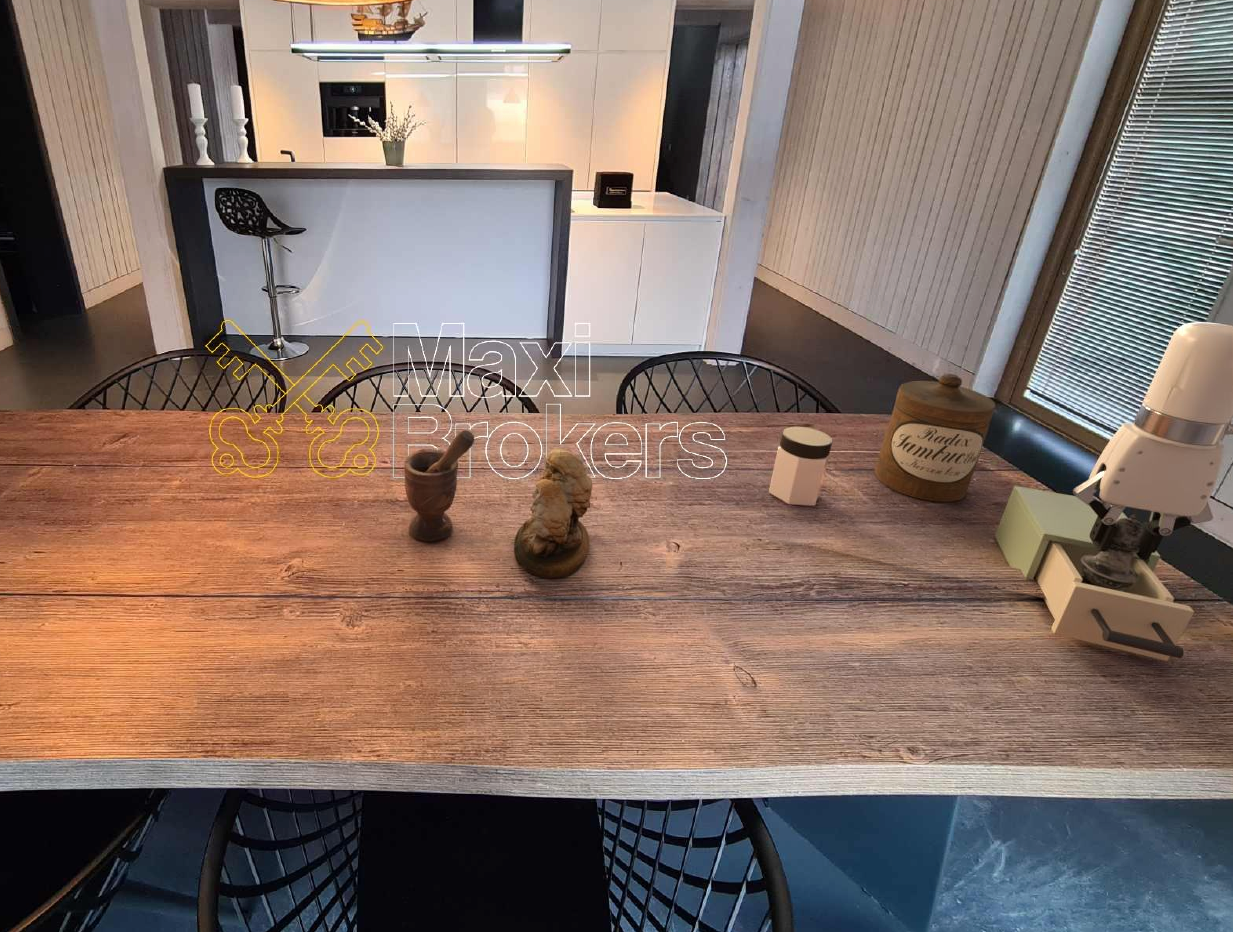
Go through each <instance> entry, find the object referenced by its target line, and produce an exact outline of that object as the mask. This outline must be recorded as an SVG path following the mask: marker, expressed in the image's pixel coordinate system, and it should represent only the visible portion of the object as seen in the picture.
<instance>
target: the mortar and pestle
mask: <svg viewBox="0 0 1233 932" xmlns="http://www.w3.org/2000/svg"><path fill="white" fill-rule="evenodd" d="M474 443H475V436H474V434H473V432H472V431H470V430H468V429H467V430H466V429H465V430H461V431H459V432H458V433H457V434H456V435H455V436H454V438H453V439H452V441H451V443H450V444H449V446H448V448H447V449H446V450H443V449H437V448H436V449H435V448H434V449H431V448H426V449H425V448H423V449H419V450H416V451H414V452H411V453H410V454H408V455H407V456H406V457H405V460H404V463H403V465H404V466H403V469H404V472H403V473H404V489H405V495H406V498H407V500H408V501H407V502H408V504H409V506H410V507H411V509H412V510H413V511H415V512H416V514H414V515H413V517H411V520H410V522H409V525H408V532H409V535H410V536H411V537H412V538H414V539H416V540H419V541H423V542H429V543H430V542H436V541H437V542H438V541H441V540H444V539H446V538H448V537H450V536H451V535H452V533H453V532H454V528H453V521H452V519H451V518H450V516H449V515H448V514H447V513H446V512H447V511H448V510H449V509H451V506H452V505H453V502H454V499H455V495H456V492H457V487H458V486H457V485H458V469H459V461H458V460H459V459H460V458H461V457H463V455H465V453H467V452H468V451H469V450H470V449H471V448H472V446H474Z"/></svg>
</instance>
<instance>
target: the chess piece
mask: <svg viewBox="0 0 1233 932" xmlns="http://www.w3.org/2000/svg"><path fill="white" fill-rule="evenodd" d="M1137 519H1139V518H1138V516H1137V514H1136V513H1135V514H1132V515H1130V517H1127V518H1121V519H1118V520H1117V521H1116V522H1115V525H1116V526H1117V531H1116V534H1115V536H1114V538H1113V540H1112V542H1111V544H1110V546H1109V548H1108V550H1107V551H1105V552H1102V551H1101V552H1100V553H1099V554H1098V555H1085V556H1083V557H1082V558H1081V562H1082V572H1083V574H1084V575H1085V576H1081V577H1082V579H1083V580H1082V582H1081V583H1084V584H1089V585H1093V586H1098V587H1103V588H1107V589H1112V590H1117V591H1121V590H1123V589H1126V588H1128V587H1130V586H1131V585H1132V584H1133V583H1134V582H1137V581H1138V580H1139V575H1138V574H1137V572H1136V571H1135V570H1133V569H1132V568H1131V567H1130V561H1131V559H1132V557H1133V555H1134V553H1137V552H1139V548H1138V547H1137V545H1138V543H1139V541H1140V539H1141V537H1142V535H1143V533H1144V527H1143V525H1142V524H1143V523H1141V522H1140V521H1138V520H1137ZM1121 592H1122V591H1121Z"/></svg>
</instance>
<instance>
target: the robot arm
mask: <svg viewBox="0 0 1233 932" xmlns="http://www.w3.org/2000/svg"><path fill="white" fill-rule="evenodd" d="M1232 418H1233V325H1229V324H1222V323H1215V322H1204V321H1203V322H1201V321H1199V322H1189V323H1185V324H1183V325H1181V326H1180V327H1178V328H1177V329H1176V330H1175V331H1174V332H1173V334H1172V336H1171V338H1170V340H1169V341H1168V344H1167V346H1166V349H1165V351H1164V354H1163V355H1162V358H1161V360H1160V362H1159V365H1158V367H1157V369H1156V371H1155V374H1154V376H1153V378H1152V381H1151V383H1150V384H1149V387H1148V389H1147V392H1146V393H1145V396H1144V398H1143V400H1142V402H1141V404H1140V406H1139V408H1138V411H1137V414H1136V416H1135V418H1134V420H1133V422H1124V423H1123V424H1122V425H1120V426H1119V428H1118V429H1117V431H1115V433H1114V435H1113V436H1112V437H1111V438H1110V440H1109V441H1108V442H1107V444H1106V446H1105V447H1104V449H1103V450H1102V452H1101V453H1100V455H1099V457H1098V459H1097V461H1096V463H1094V466H1093V468H1092V470H1091V472H1090V475H1089V477H1088V479H1087V480H1085V481H1084V482H1082V483H1081V484H1079V485H1077V486H1076V487H1075V488H1073V489H1072V493H1073V495H1074V496H1076V497H1077V498H1078V499H1080V500H1081V501H1082V502H1084V503H1085V504H1087V505H1088V506H1090V507H1091V508H1092V509H1093V511H1094V512H1095V513H1096V514H1097V515H1098V517H1097V519H1096V521H1095V523H1094V525H1093V528H1092V530H1091V532H1090V539H1091V541H1092V542H1093V543H1094V545H1095V546H1096V548H1097V549H1098V550H1099V551H1102V552H1105V551H1107V550H1108V548H1109V546H1110V544H1111V542H1112V540H1113V538H1114V536H1115V534H1116V531H1117V526H1116V525H1115V522H1116V520H1117V519H1118V517H1119V516H1120V514H1121V513H1122V512H1123V513H1124V510H1125V509H1126V507H1127V508H1131V509H1136V510H1137V509H1138V510H1144V511H1147V512H1148V511H1149V512H1150V515H1149V521H1148V522H1145V521H1143V523H1141V524H1142V525H1143V527H1144V533H1143V535H1142V537H1141V539H1140V541H1139V543H1138V545H1137V547H1138V548H1139V552H1137V553H1136V554H1137V555H1138V557H1139V558H1141V559H1142V560H1147V561H1148V560H1149V558H1150V556H1151V554H1152V553H1155V552H1156V551H1157V550H1158V549H1159V546H1160V544H1161V542H1162V540H1163V538H1164V537H1165V536H1166V537H1168V536H1170V535H1171V534H1172V533H1173V531H1174V532H1175V531H1176V530H1180V529H1182V528H1186V527H1188V526H1190V525H1191V524H1192V525H1195V524H1200V523H1208V522H1211V521H1213V519H1214V516H1213V513H1212V510H1211V507H1210V504H1209V500H1210V497H1211V495H1212V493H1213V491H1214V488H1215V486H1216V483H1217V480H1218V477H1219V475H1220V470H1221V466H1222V462H1223V458H1224V451H1225V450H1224V449H1225V445H1224V443H1222V442H1223V440H1224V438H1225V436H1229V435H1233V422H1232ZM1098 491H1099V495H1098V497H1099V498H1100V499H1101V500H1100V499H1099V498H1098V497H1096V496H1094V494H1096V493H1097V492H1098ZM1100 501H1101V502H1100Z"/></svg>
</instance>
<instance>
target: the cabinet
mask: <svg viewBox="0 0 1233 932" xmlns="http://www.w3.org/2000/svg"><path fill="white" fill-rule="evenodd" d="M1099 501H1100V502H1101V500H1099ZM1097 517H1098V515H1097V514H1096V513H1095V512H1094V511H1093V509H1092V508H1091V507H1090V506H1088V505H1087V504H1085V503H1084V502H1082V501H1081V500H1080V499H1078V498H1077V497H1076V496H1075V495H1069V494H1064V493H1059V492H1052V491H1048V490H1041V489H1036V488H1030V487H1025V486H1019V485H1013V488H1012V491H1011V493H1010V495H1009V498H1008V501H1007V503H1006V506H1005V509H1004V511H1003V513H1002V517H1001V518H1000V522H999V524H998V527H997V530H996V532H995V535H994V538H995V540H996V541H997V543H998V546H999V547H1000V550H1001V552H1002V553H1003V556H1004V557H1005V559H1006V562H1007V564H1008V565H1009V567H1010V568H1013V569H1017V570H1020V571H1021V573H1022V574H1023V577H1024V579H1026V580H1031V581H1034V578H1035V573H1036V571H1037V569H1038V566H1039V564H1040V562H1041V559H1042V557H1043V554H1044V552H1045V550H1046V547H1047V545H1048V543H1049V540H1052V541H1057V542H1062V543H1067V544H1072V545H1077V546H1082V547H1087V548H1092V549H1097V548H1096V546H1095V545H1094V543H1093V542H1092V541H1091V539H1090V532H1091V530H1092V528H1093V525H1094V523H1095V521H1096V519H1097ZM1121 518H1128V516H1127V515H1126V514H1125V513H1124V511H1123V512H1122V513H1121V514H1120V516H1119V517H1118V519H1121ZM1118 519H1117V520H1118ZM1117 520H1116V521H1117ZM1097 550H1098V549H1097ZM1133 557H1138V555H1137V554H1136V553H1134V555H1133ZM1161 557H1162V556H1161V554H1159V552H1158V551H1157V550H1156V552H1155V553H1152V554H1151V556H1150V558H1149V560H1148V561H1147V560H1143V561H1144V562H1145V563H1146V564H1147V566H1148V567H1149V568H1150V569H1151V571H1152V572H1153V573H1154V572H1155V569H1156V567H1157V566H1158V563H1159V560H1160V559H1161ZM1138 558H1139V557H1138Z"/></svg>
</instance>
